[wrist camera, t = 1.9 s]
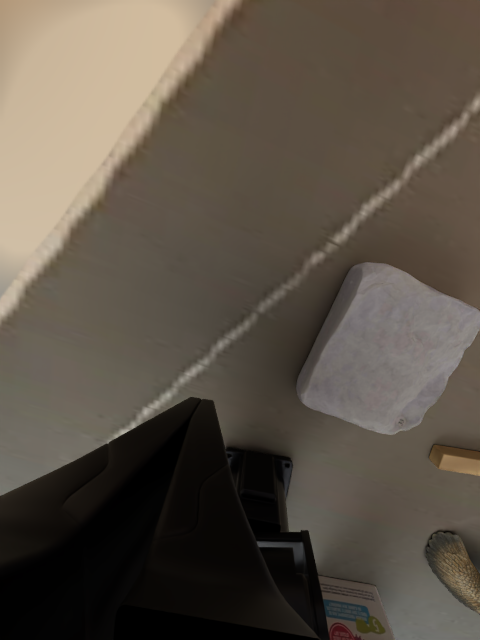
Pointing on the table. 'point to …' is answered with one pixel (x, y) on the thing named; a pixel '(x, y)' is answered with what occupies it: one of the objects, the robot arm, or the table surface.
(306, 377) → the stone block
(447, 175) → the table surface
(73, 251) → the table surface
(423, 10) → the table surface
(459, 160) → the table surface
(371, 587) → the juice carton
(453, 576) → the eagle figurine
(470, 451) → the maple bay
